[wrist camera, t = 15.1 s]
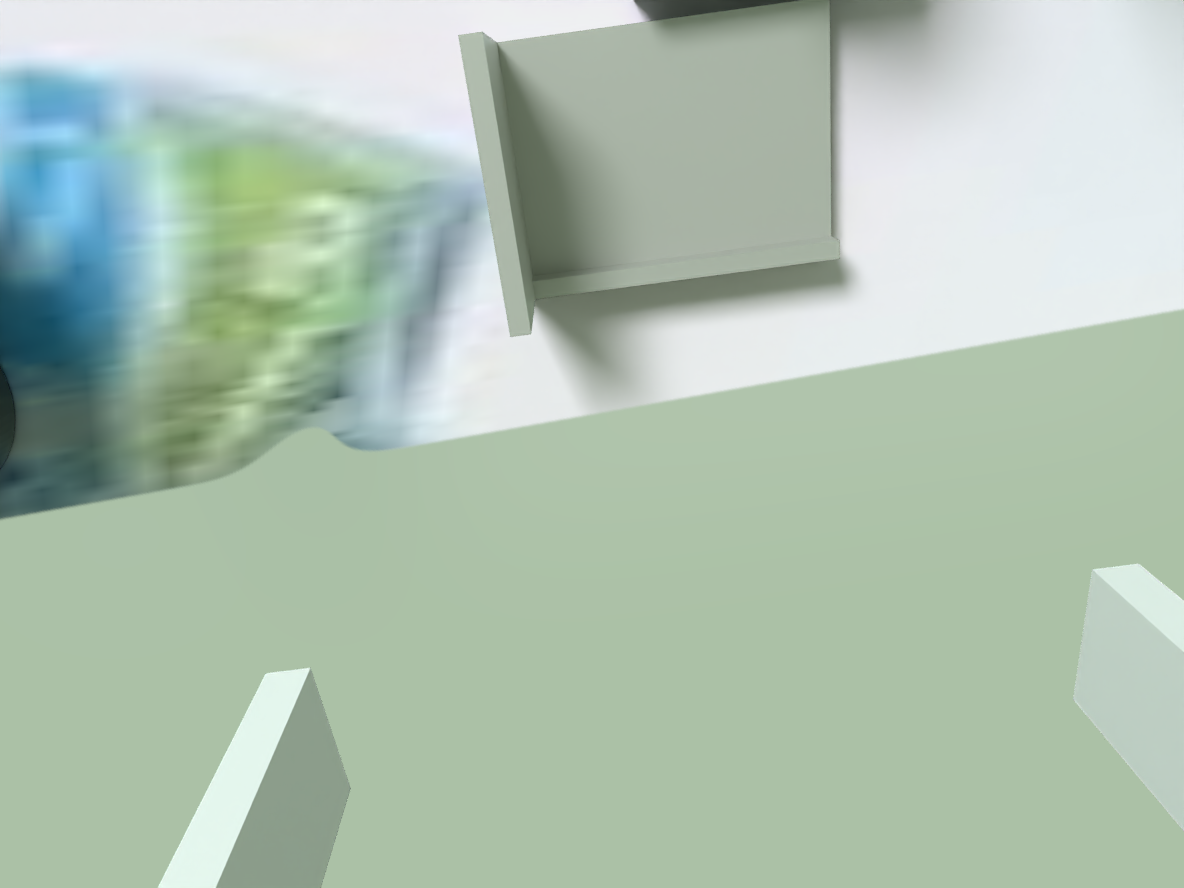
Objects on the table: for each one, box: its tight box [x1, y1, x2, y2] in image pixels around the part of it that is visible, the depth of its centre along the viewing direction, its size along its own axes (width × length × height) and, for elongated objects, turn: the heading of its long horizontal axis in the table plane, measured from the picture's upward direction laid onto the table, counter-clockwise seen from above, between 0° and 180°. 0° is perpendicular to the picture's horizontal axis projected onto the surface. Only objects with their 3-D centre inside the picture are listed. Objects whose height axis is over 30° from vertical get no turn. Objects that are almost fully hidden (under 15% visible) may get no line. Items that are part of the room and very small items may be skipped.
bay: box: [458, 0, 840, 337], centre depth 41 cm, size 18×13×10 cm
